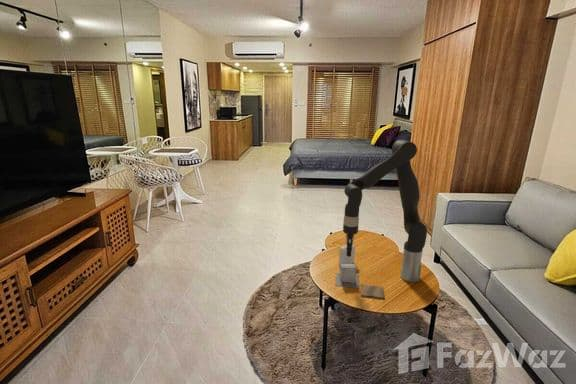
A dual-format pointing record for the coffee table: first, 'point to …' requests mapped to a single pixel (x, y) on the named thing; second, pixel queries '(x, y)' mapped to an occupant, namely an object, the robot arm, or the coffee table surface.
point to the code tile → (347, 284)
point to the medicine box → (348, 273)
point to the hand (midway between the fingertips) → (348, 252)
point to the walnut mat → (372, 291)
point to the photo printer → (343, 255)
